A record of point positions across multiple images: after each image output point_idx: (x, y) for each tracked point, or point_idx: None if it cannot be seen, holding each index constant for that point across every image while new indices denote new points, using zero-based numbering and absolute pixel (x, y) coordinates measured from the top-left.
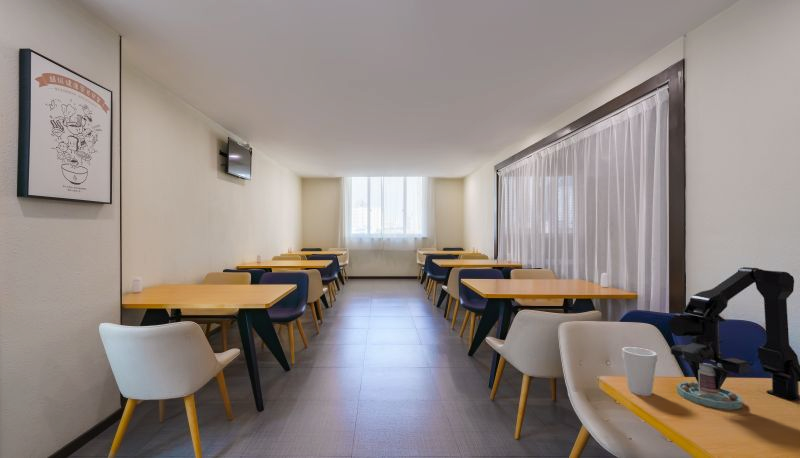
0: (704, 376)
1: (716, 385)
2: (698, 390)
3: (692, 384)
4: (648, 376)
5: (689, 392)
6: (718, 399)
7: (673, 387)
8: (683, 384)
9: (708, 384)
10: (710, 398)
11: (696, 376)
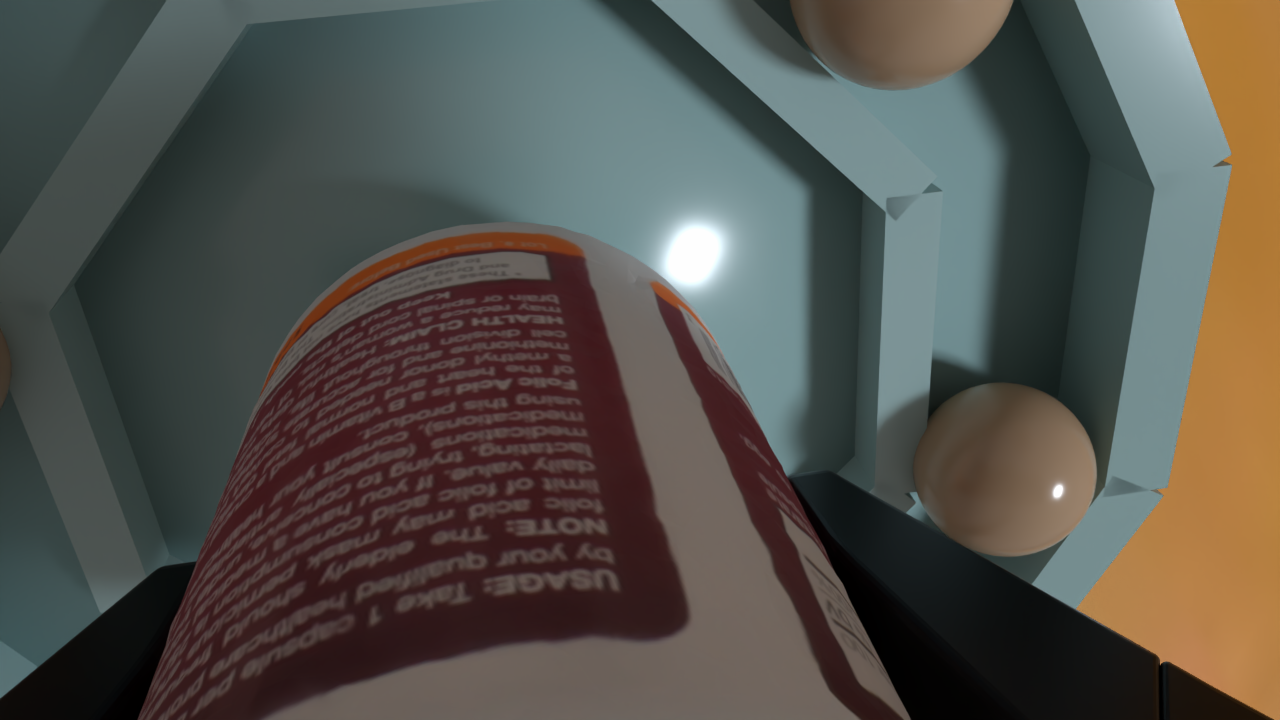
0: (374, 594)
1: (136, 635)
2: (811, 436)
3: (975, 443)
4: None
5: (774, 23)
6: (252, 408)
7: (1242, 109)
8: (1123, 277)
9: (294, 445)
10: (155, 111)
11: (908, 564)
